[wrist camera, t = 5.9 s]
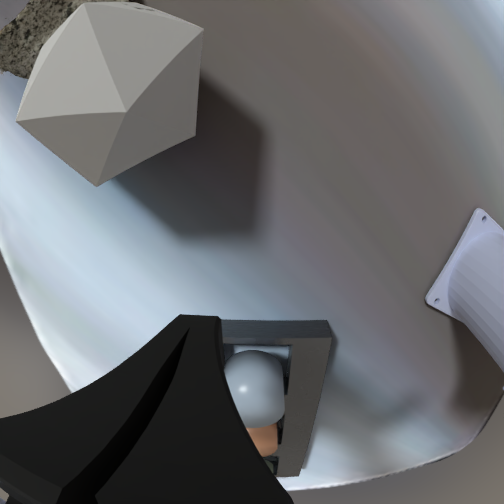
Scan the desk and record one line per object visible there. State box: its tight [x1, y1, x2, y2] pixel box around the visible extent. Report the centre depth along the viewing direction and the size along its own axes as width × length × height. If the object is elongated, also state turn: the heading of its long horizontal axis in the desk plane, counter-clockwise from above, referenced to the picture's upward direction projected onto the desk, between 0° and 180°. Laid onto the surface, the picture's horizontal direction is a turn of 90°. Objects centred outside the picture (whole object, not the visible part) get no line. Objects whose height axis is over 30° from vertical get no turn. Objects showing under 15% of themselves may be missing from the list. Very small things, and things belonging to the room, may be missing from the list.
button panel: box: [221, 319, 332, 477], centre depth 23 cm, size 21×10×2 cm, turn 0°
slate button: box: [224, 350, 285, 428], centre depth 17 cm, size 4×4×4 cm
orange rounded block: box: [246, 422, 277, 457], centre depth 22 cm, size 4×4×4 cm
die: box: [16, 2, 204, 187], centre depth 11 cm, size 8×9×10 cm
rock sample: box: [0, 0, 129, 79], centre depth 11 cm, size 10×8×9 cm
